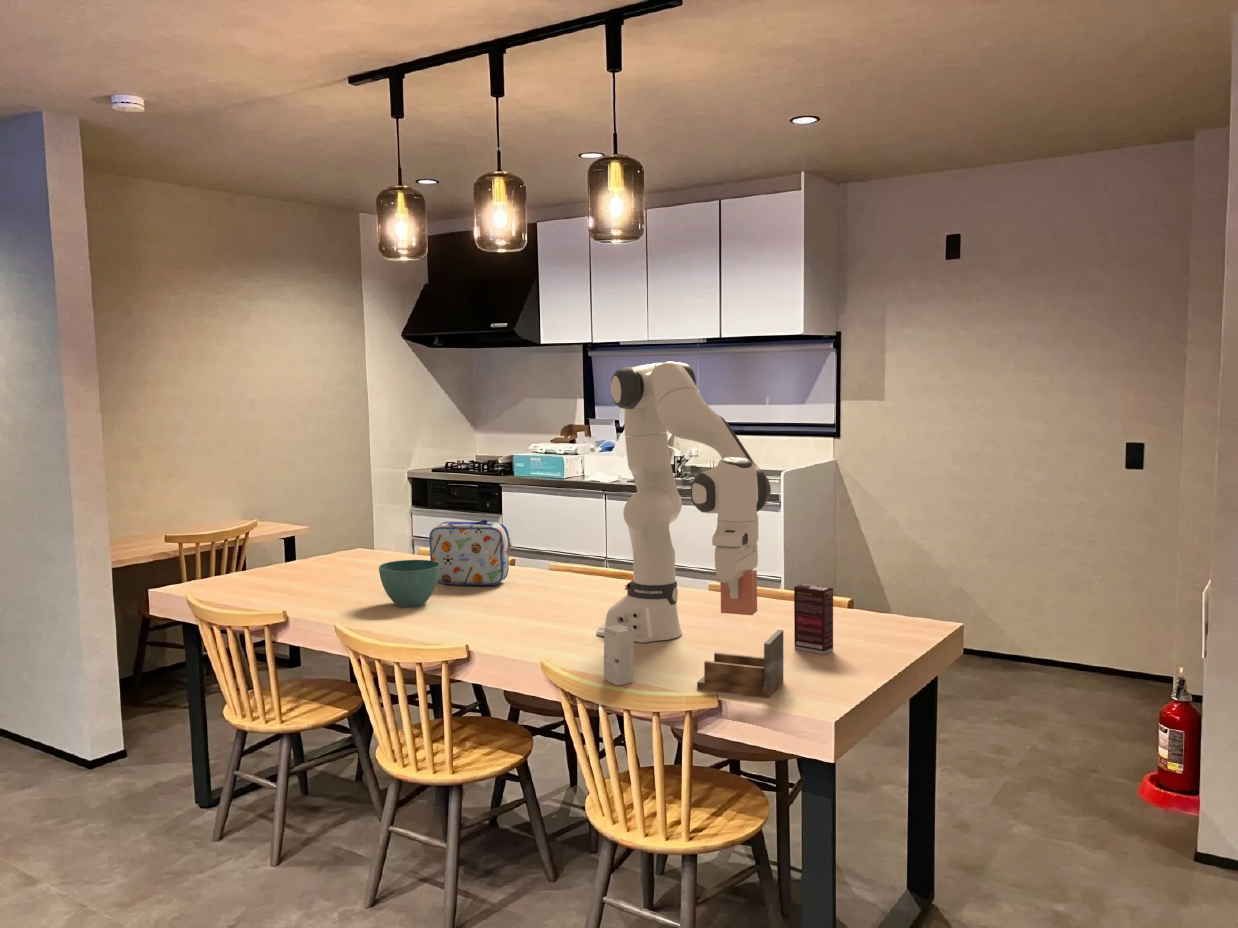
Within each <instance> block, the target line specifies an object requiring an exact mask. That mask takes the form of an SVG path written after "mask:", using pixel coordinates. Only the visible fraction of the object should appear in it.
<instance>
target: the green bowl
mask: <svg viewBox="0 0 1238 928" xmlns="http://www.w3.org/2000/svg"><path fill="white" fill-rule="evenodd" d="M378 571H379V573H378V574H379V578H380V581H381V585H382V587H383V589H384V591H385V593H386V595H387V596H388V597H389V599H390V600H391V601H392V603H393V604H394V605H396V607H400V608H408V609H409V608H418V607H422V606H424V605H425V604H426V603H427V602H428V600H430V598H431V596H432V594H433V593H434V591H435V589H436V586H437V584H438V582H437V581H438V578H439V573H440V563H439V562H436V561H430V560H429V559H402V560H395V561H394V560H393V561H388V562H384V563H381V564H380V565H379V566H378Z"/></svg>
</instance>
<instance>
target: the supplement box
mask: <svg viewBox="0 0 1238 928" xmlns="http://www.w3.org/2000/svg"><path fill="white" fill-rule="evenodd" d="M793 590H794V591H793V599H794V600H793V610H794V611H793V612H794V616H793V617H794V622H793V623H794V633H793V634H794V650H798V651H804V652H809V653H813V654H820V655H826V654H827V655H828V654H829V653H831V652H833V651H834V587H831V586H822V585H816V584H814V585H813V584H807V583H801V584H798V585H794V587H793Z"/></svg>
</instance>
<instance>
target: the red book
mask: <svg viewBox="0 0 1238 928" xmlns="http://www.w3.org/2000/svg"><path fill="white" fill-rule="evenodd" d="M757 571H758V570H757V569H756V570H754V569H753V570H748V571H747V572H745V573H744V575H743V577H741V578H740V579H739V583H738V588H739V590H740V597H739V598H737V599H731V598H730V590H729V587H728V583H721V582H719V583H720V584H719V585H720V613H721V614H731V615H740V616H741V615H742V616H745V615H746V616H754V614H756V613H757V612H758V572H757Z"/></svg>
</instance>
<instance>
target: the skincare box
mask: <svg viewBox="0 0 1238 928" xmlns="http://www.w3.org/2000/svg"><path fill="white" fill-rule="evenodd" d="M603 638H604V639H603V641H604V642H603V650H604V651H603V679H604V680H605V681H607V682H608V683H611V684H613V685H616V686H623V685H628V684H630V683H633V682H634V643H635V641H634V630H632V629H630V628H628V627H626V626H622V625H619V624H617V625H612V626H607V627H605V628H604V636H603Z"/></svg>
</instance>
